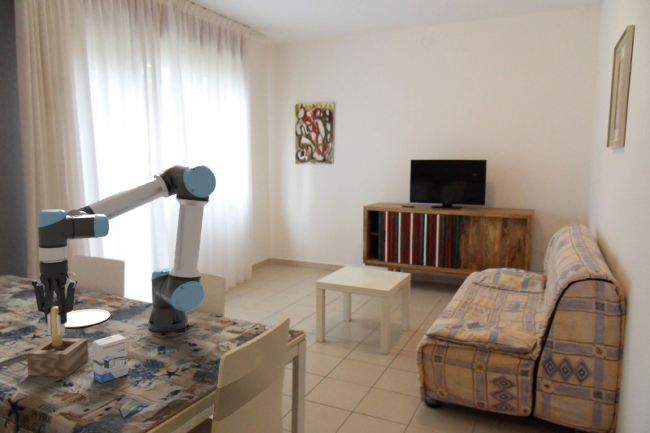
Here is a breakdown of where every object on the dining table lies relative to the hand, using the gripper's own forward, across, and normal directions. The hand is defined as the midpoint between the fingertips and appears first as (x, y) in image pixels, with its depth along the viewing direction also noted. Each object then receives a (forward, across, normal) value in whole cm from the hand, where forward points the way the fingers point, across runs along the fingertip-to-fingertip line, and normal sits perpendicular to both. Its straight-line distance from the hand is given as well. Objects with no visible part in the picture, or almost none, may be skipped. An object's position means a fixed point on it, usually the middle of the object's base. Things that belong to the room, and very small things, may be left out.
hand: (56, 333), depth 142 cm
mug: (+11, +37, -64) cm, 75 cm away
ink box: (+11, -19, +5) cm, 23 cm away
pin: (+4, 0, 0) cm, 4 cm away
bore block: (+11, 0, 0) cm, 11 cm away
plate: (+12, +16, -42) cm, 47 cm away
